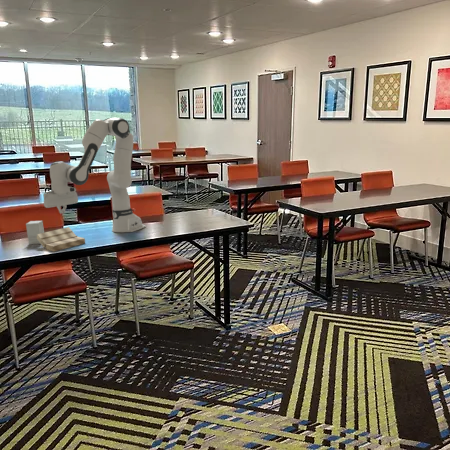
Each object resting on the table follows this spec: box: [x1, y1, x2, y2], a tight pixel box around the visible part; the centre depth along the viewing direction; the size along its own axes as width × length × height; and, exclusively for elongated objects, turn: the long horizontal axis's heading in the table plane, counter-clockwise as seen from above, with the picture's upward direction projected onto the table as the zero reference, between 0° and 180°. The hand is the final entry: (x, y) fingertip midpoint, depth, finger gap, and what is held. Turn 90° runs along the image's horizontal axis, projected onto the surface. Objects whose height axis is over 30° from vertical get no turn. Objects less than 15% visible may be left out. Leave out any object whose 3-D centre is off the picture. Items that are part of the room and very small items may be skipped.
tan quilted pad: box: [37, 226, 77, 249], centre depth 245 cm, size 20×9×3 cm
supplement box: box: [25, 220, 45, 245], centre depth 249 cm, size 7×7×13 cm
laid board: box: [45, 235, 86, 252], centre depth 240 cm, size 20×8×3 cm, turn 142°
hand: (62, 212), depth 247 cm, fingers closed
